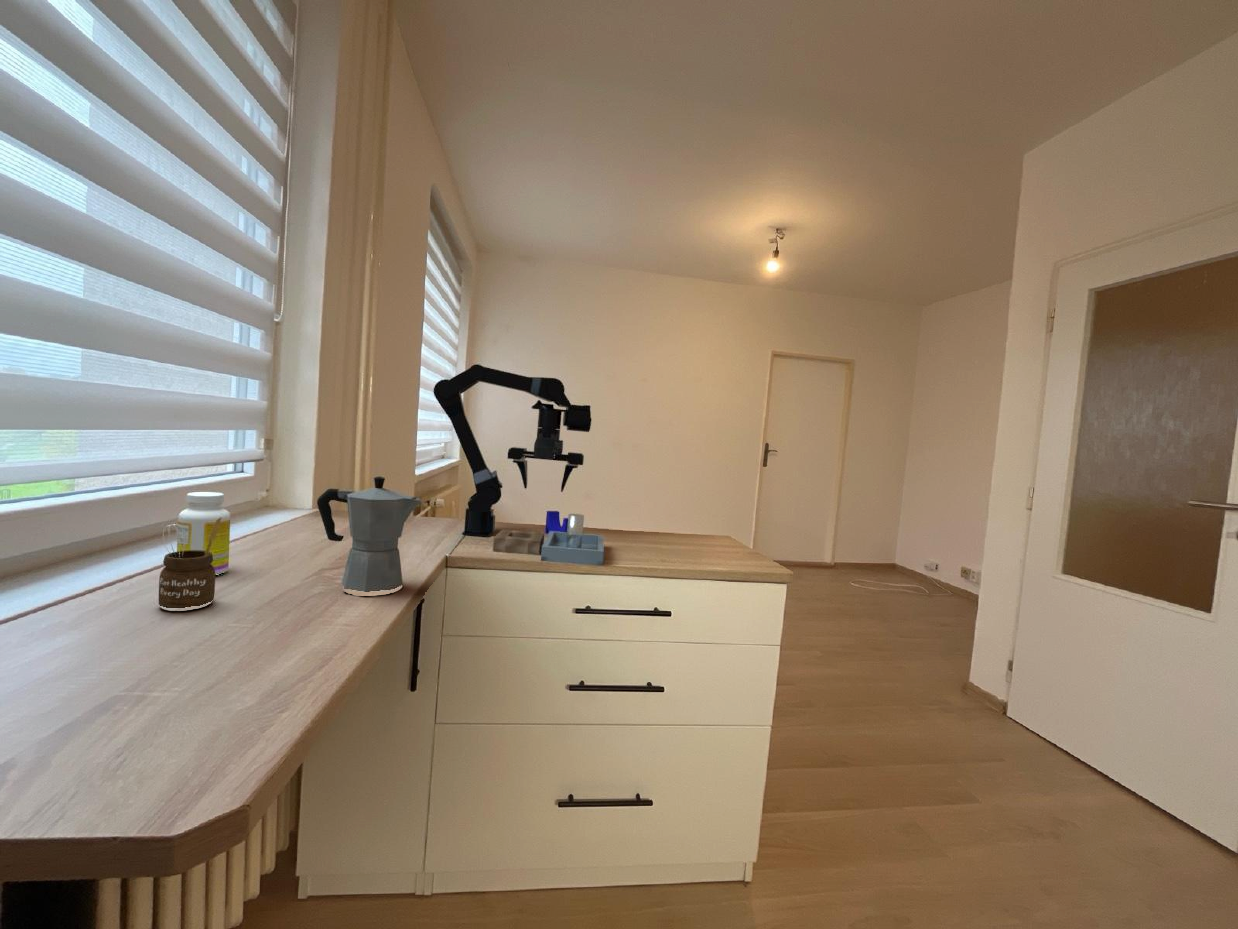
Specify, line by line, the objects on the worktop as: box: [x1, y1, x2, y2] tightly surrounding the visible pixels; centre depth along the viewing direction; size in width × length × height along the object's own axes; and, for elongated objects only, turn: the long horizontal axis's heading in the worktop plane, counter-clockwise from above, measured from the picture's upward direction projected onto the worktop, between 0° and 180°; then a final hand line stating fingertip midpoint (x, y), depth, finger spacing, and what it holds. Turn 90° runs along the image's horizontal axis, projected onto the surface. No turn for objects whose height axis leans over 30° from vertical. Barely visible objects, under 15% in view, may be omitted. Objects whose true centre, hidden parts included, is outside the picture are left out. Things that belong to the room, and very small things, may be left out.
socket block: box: [492, 529, 545, 556], centre depth 125 cm, size 10×10×3 cm
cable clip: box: [544, 510, 568, 535], centre depth 142 cm, size 12×4×6 cm, turn 31°
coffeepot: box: [316, 476, 423, 592], centre depth 87 cm, size 15×9×18 cm, turn 101°
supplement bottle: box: [176, 491, 231, 575], centre depth 87 cm, size 7×7×13 cm
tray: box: [540, 531, 605, 566], centre depth 124 cm, size 13×18×3 cm
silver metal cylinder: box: [566, 513, 585, 548], centre depth 124 cm, size 4×4×8 cm
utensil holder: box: [158, 517, 222, 608], centre depth 73 cm, size 6×6×12 cm
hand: (543, 490), depth 139 cm, fingers open, 9 cm apart
